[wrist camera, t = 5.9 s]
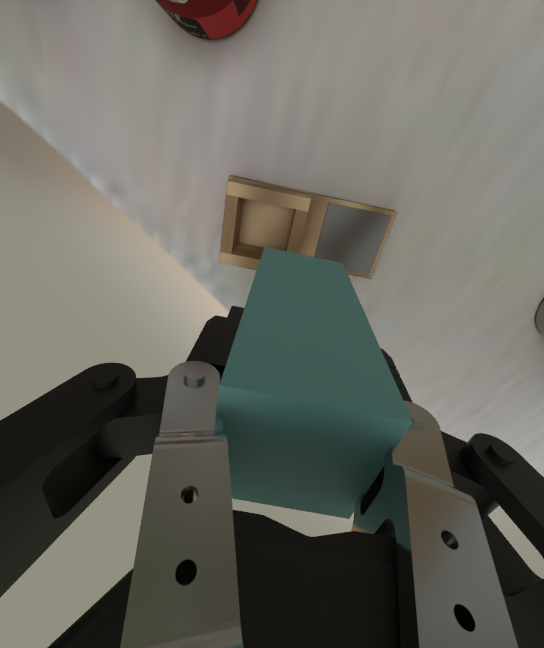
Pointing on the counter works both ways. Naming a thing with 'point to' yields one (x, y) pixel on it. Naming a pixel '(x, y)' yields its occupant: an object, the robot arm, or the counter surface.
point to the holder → (301, 226)
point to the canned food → (208, 15)
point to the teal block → (307, 391)
